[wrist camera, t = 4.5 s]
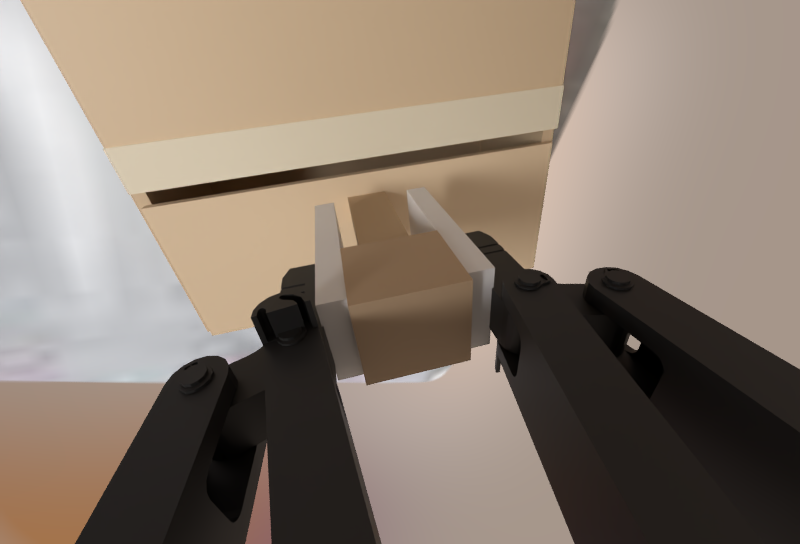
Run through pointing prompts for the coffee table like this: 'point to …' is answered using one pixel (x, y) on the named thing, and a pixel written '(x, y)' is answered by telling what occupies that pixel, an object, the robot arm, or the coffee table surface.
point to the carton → (303, 85)
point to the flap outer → (362, 249)
